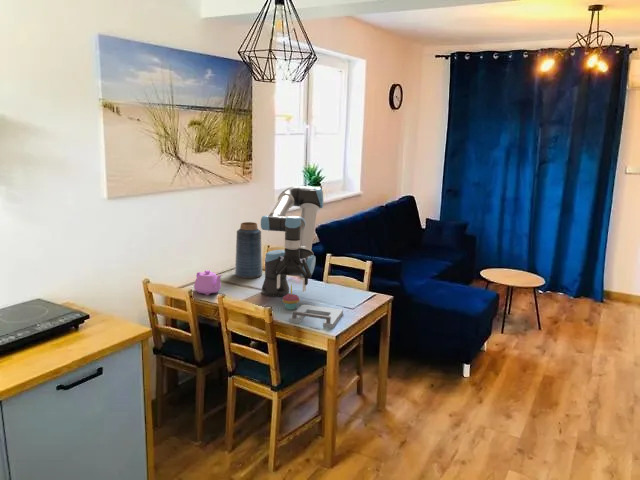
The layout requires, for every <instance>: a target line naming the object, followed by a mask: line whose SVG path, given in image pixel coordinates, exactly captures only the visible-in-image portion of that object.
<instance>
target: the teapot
mask: <svg viewBox="0 0 640 480" xmlns="http://www.w3.org/2000/svg"><path fill="white" fill-rule="evenodd" d="M195 276H196V279H195V280H194V284H193V288H194V290H195V291H196V292H197V293H198V294H204V296H210V294H217V293H218V292H219V291H220V290H221V287H222V283H221V277H222V276H223V275H222V274H220V275H217V274H216V273H215V272H214V271H211V270H209V269H207V270H204V271H203V272H201V271H199V272H196V275H195Z"/></svg>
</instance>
